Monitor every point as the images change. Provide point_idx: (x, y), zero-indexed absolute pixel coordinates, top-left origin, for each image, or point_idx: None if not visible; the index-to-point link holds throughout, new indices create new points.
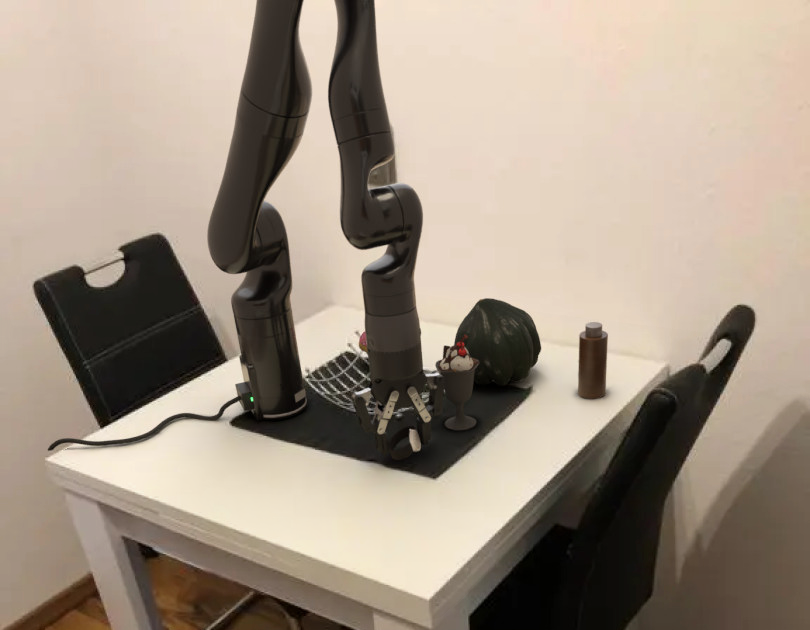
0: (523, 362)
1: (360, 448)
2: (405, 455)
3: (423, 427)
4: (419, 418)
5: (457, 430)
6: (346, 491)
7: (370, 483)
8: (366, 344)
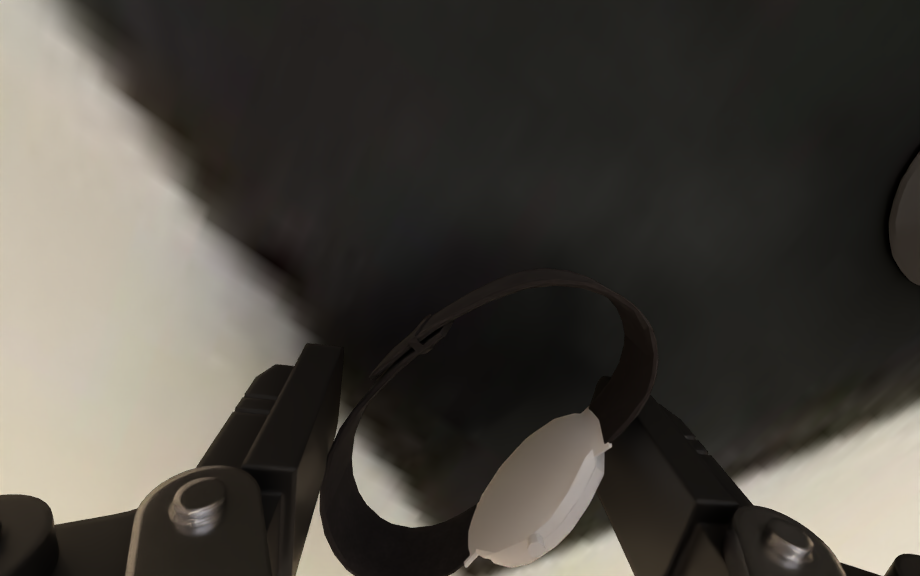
0: None
1: (272, 43)
2: (397, 542)
3: (640, 572)
4: (698, 553)
5: (897, 262)
6: (22, 477)
7: None
8: None
